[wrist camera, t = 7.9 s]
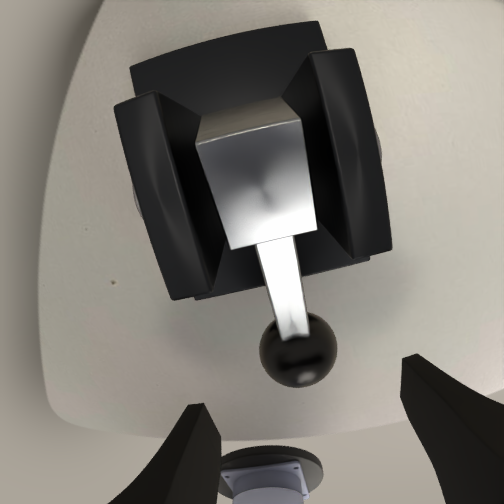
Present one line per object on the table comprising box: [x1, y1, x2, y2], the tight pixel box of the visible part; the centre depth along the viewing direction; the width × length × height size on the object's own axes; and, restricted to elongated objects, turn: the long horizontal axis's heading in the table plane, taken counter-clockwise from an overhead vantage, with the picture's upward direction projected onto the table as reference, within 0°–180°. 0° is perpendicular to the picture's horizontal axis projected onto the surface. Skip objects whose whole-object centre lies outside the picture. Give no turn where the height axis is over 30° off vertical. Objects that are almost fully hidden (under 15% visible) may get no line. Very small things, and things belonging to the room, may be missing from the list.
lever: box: [194, 97, 337, 388], centre depth 10 cm, size 11×3×3 cm, turn 14°
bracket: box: [114, 21, 392, 301], centre depth 10 cm, size 12×9×9 cm
